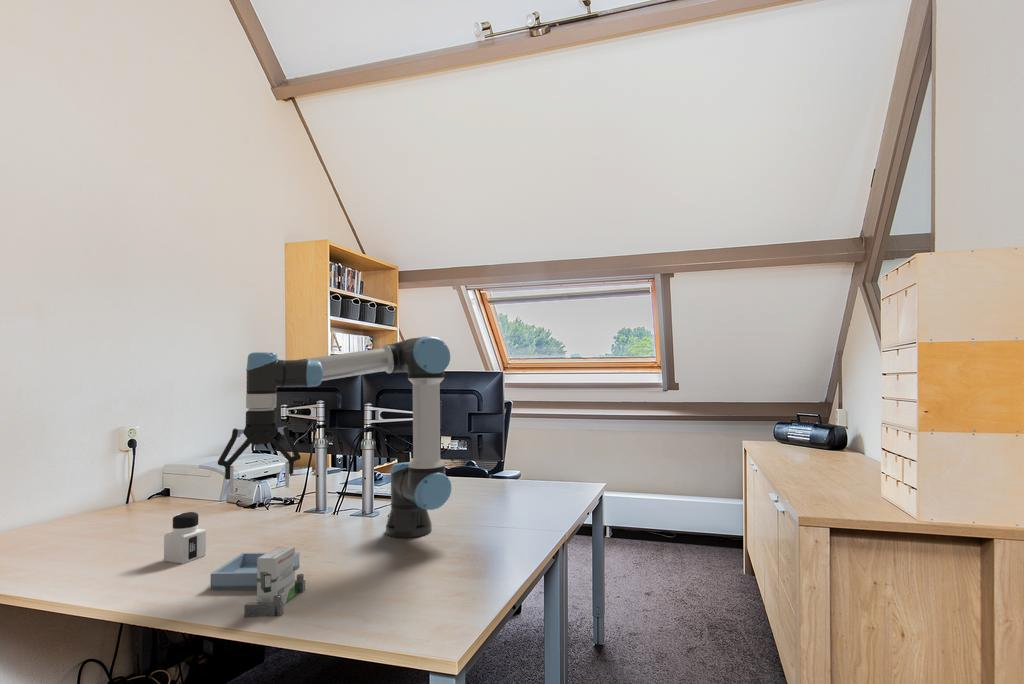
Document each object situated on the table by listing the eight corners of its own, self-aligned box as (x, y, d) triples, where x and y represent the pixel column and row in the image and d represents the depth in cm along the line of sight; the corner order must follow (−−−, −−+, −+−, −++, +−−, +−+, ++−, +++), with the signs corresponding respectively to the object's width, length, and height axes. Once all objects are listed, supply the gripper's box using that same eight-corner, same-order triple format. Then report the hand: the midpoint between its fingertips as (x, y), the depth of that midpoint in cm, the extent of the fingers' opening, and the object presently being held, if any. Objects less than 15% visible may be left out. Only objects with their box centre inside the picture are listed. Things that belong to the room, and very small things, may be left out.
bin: (299, 566, 155) (299, 552, 155) (274, 589, 139) (274, 573, 139) (242, 567, 155) (242, 552, 155) (210, 590, 139) (210, 573, 140)
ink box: (277, 595, 136) (277, 545, 136) (296, 596, 135) (296, 546, 136) (255, 610, 127) (256, 557, 128) (275, 611, 126) (276, 558, 127)
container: (206, 555, 166) (206, 511, 166) (183, 564, 159) (184, 517, 159) (186, 553, 168) (187, 509, 169) (163, 561, 161) (163, 515, 162)
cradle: (305, 590, 138) (305, 573, 139) (280, 616, 124) (280, 597, 124) (273, 590, 138) (273, 574, 139) (244, 616, 124) (244, 598, 124)
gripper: (308, 407, 160) (306, 482, 159) (209, 410, 149) (206, 491, 147) (311, 408, 154) (310, 487, 152) (208, 412, 142) (206, 496, 141)
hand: (259, 489), depth 150 cm, fingers open, 13 cm apart
